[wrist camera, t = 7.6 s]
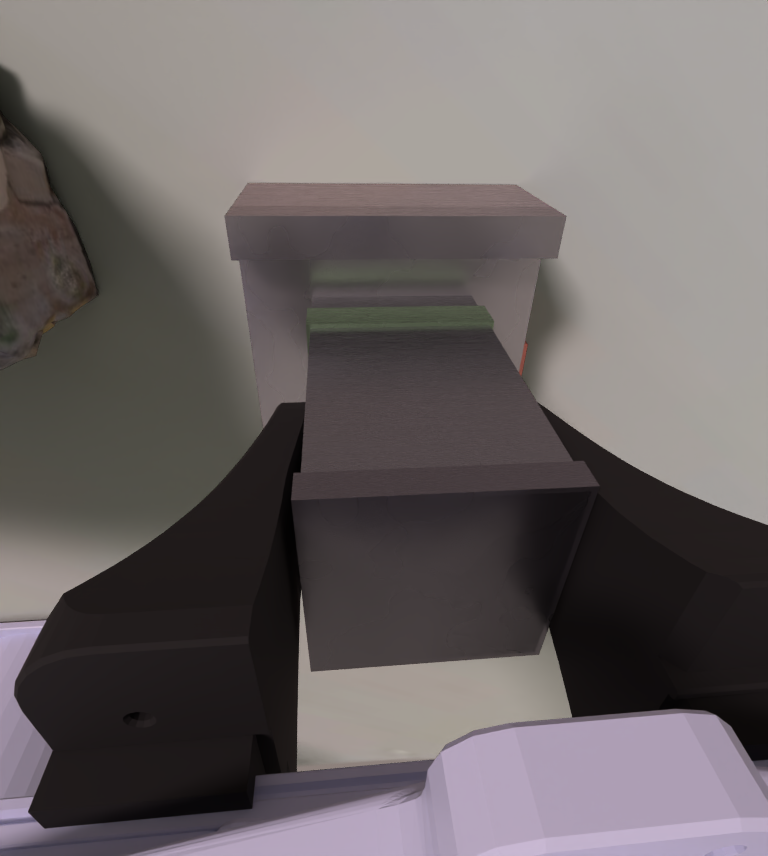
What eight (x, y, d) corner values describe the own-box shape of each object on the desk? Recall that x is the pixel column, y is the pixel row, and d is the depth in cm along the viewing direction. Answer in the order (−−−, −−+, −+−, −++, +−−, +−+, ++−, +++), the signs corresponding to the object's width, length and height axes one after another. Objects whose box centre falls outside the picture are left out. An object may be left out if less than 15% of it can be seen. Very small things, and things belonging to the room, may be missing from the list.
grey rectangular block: (457, 426, 17) (538, 654, 10) (317, 431, 16) (310, 671, 10) (475, 291, 14) (599, 485, 8) (308, 293, 14) (290, 500, 7)
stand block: (482, 427, 21) (510, 494, 17) (278, 434, 20) (268, 505, 17) (521, 184, 15) (572, 215, 12) (247, 183, 15) (224, 215, 11)
